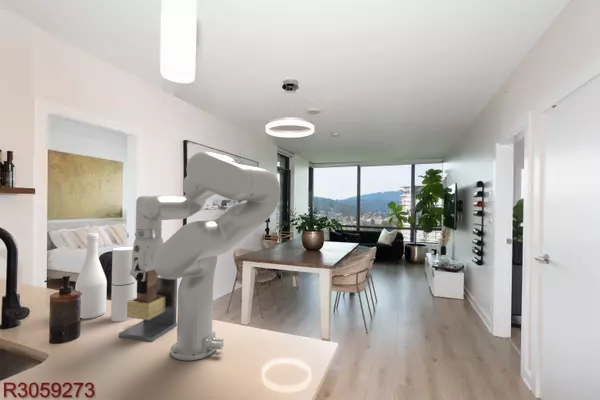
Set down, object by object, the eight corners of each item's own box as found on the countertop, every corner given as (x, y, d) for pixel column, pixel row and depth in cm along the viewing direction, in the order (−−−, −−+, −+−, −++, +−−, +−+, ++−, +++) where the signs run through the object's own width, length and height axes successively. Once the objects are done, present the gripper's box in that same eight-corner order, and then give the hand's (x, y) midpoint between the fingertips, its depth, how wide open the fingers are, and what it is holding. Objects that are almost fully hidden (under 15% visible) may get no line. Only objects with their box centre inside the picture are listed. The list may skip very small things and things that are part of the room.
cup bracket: (176, 326, 103) (177, 278, 103) (152, 341, 91) (153, 288, 91) (146, 322, 106) (147, 275, 106) (118, 336, 94) (120, 284, 94)
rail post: (156, 304, 99) (157, 261, 99) (147, 308, 95) (148, 264, 95) (145, 303, 100) (146, 261, 100) (136, 307, 96) (137, 263, 96)
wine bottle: (112, 312, 114) (114, 232, 114) (87, 321, 105) (89, 235, 105) (93, 309, 117) (95, 231, 117) (68, 317, 108) (70, 234, 108)
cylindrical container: (115, 323, 104) (117, 250, 104) (107, 318, 108) (109, 248, 108) (137, 317, 110) (139, 248, 110) (128, 312, 114) (130, 246, 114)
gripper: (139, 237, 88) (137, 300, 88) (175, 232, 105) (173, 285, 104) (117, 236, 90) (116, 298, 90) (156, 231, 106) (155, 283, 106)
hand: (147, 290), depth 97 cm, fingers closed on rail post, 4 cm apart
